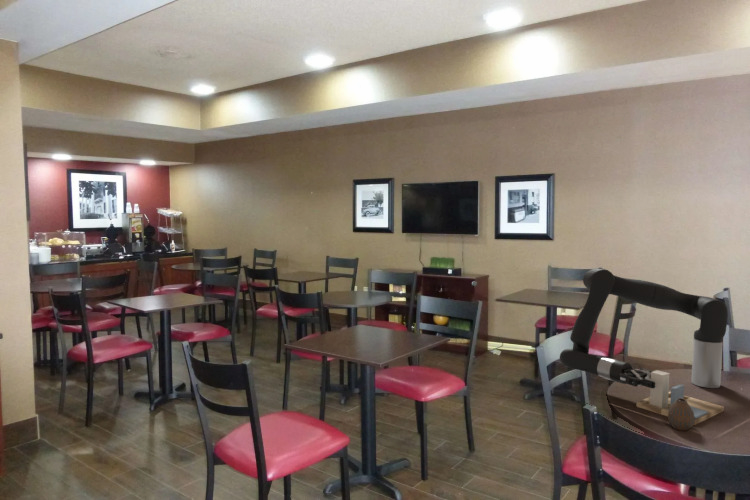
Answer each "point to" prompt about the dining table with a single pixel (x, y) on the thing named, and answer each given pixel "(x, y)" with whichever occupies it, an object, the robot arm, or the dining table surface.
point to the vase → (681, 415)
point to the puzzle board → (692, 402)
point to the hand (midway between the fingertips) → (661, 383)
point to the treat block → (659, 389)
